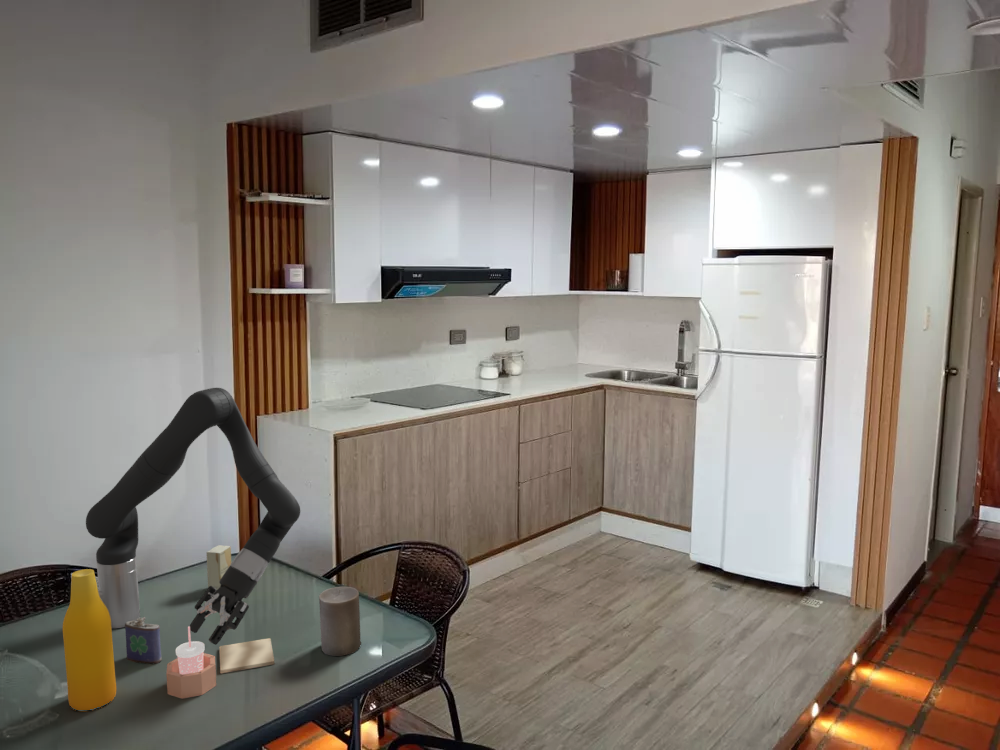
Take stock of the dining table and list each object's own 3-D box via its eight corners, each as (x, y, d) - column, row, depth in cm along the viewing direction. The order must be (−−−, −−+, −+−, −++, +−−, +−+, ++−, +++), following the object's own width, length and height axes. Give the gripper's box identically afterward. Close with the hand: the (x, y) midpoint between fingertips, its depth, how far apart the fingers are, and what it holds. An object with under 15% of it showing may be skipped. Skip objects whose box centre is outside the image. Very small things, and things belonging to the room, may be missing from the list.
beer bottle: (66, 716, 162) (55, 584, 158) (71, 694, 170) (60, 568, 166) (115, 706, 166) (106, 577, 161) (117, 685, 174) (108, 561, 170)
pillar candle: (368, 642, 194) (366, 584, 192) (345, 660, 185) (343, 600, 183) (336, 634, 198) (334, 578, 196) (312, 651, 189) (309, 593, 187)
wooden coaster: (220, 673, 179) (220, 670, 179) (219, 649, 190) (219, 646, 190) (274, 664, 183) (274, 661, 183) (270, 641, 194) (270, 638, 194)
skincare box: (221, 594, 221) (219, 553, 219) (207, 593, 222) (205, 552, 220) (233, 585, 227) (231, 545, 225) (220, 584, 228) (217, 544, 226)
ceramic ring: (167, 701, 168) (165, 679, 167) (169, 678, 177) (167, 657, 176) (216, 692, 171) (215, 671, 170) (215, 670, 180) (214, 649, 180)
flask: (164, 659, 185) (161, 617, 183) (155, 665, 182) (152, 623, 181) (131, 654, 188) (128, 612, 186) (123, 660, 185) (119, 618, 183)
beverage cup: (189, 695, 170) (185, 635, 168) (171, 687, 173) (167, 628, 171) (212, 682, 175) (209, 624, 173) (195, 675, 178) (191, 617, 176)
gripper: (216, 558, 184) (173, 621, 177) (251, 573, 175) (207, 640, 168) (237, 572, 189) (196, 634, 182) (272, 588, 180) (230, 653, 173)
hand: (201, 637), depth 175 cm, fingers open, 8 cm apart
